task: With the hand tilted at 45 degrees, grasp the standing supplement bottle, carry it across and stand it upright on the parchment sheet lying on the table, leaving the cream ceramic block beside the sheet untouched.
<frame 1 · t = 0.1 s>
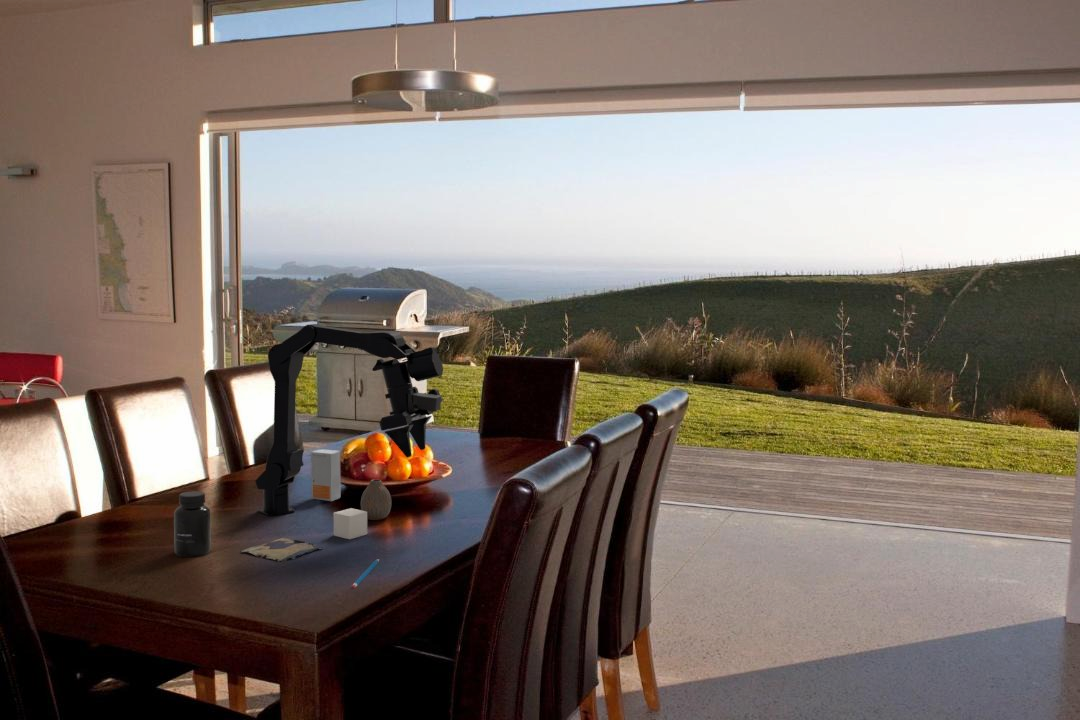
hand: (416, 453, 211), 15 cm above the table, tool pointing down, fingers open, 9 cm apart
cream ceramic block: (350, 535, 201), on the table
supplement bottle: (193, 553, 187), on the table
parchment: (283, 552, 189), on the table
skincare box: (326, 499, 233), on the table
vase: (376, 518, 215), on the table
pencil: (366, 575, 175), on the table
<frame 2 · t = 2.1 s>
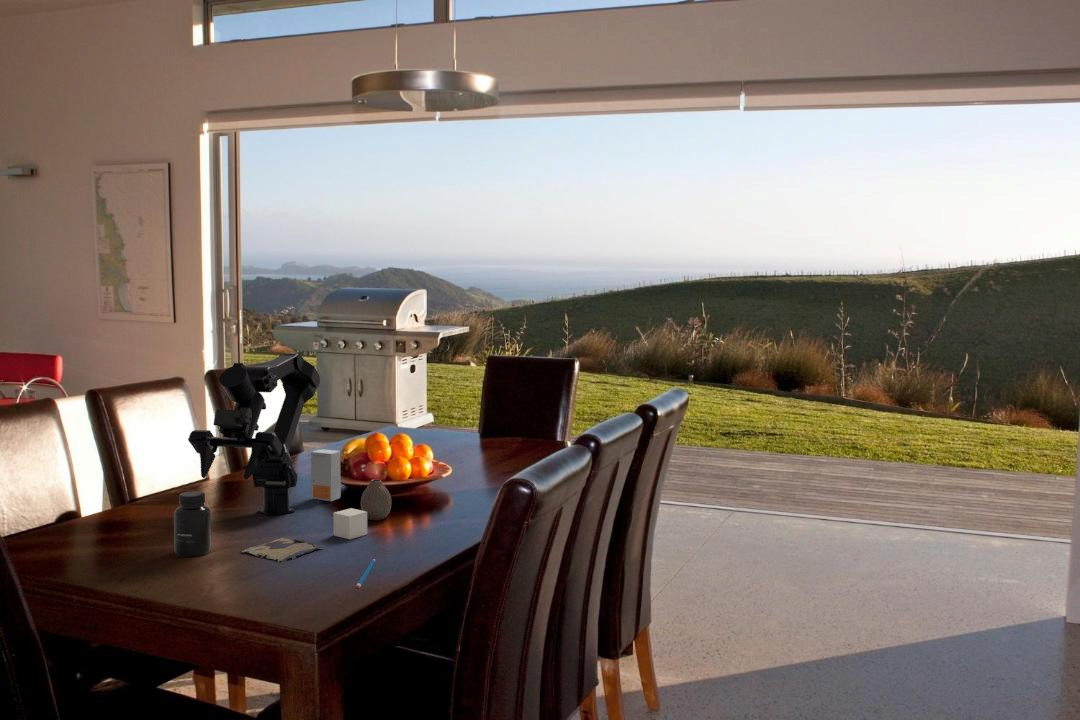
hand: (223, 477, 193), 14 cm above the table, tool tilted 45°, fingers open, 9 cm apart
nothing on the table moved.
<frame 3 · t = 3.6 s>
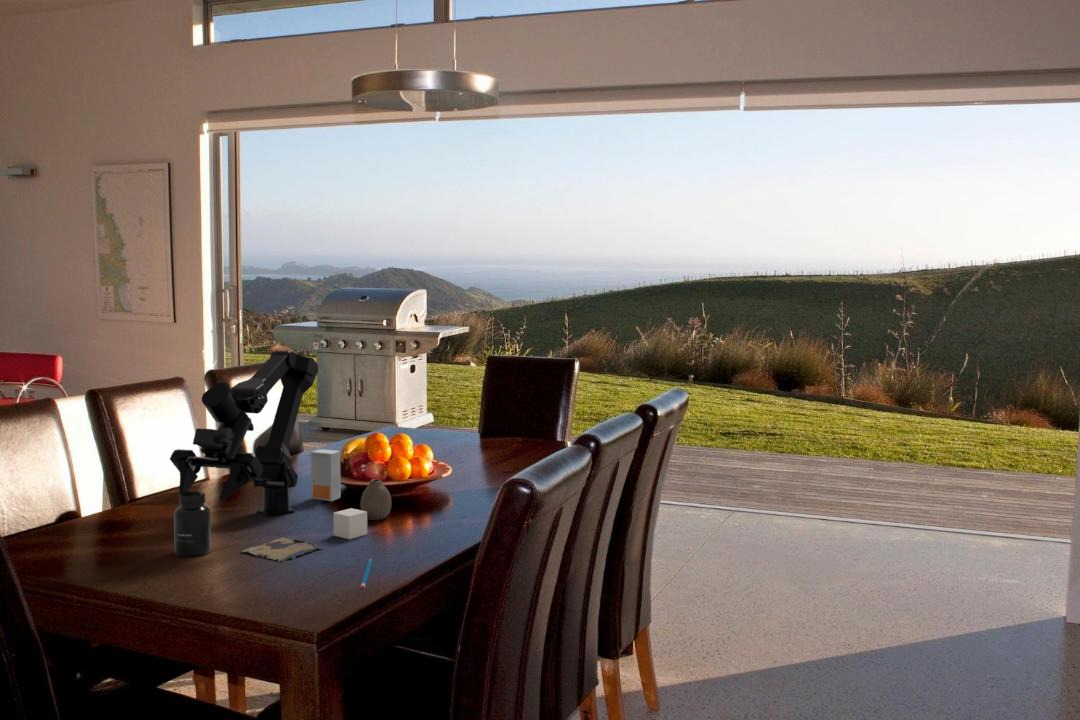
hand: (201, 498, 189), 10 cm above the table, tool tilted 45°, fingers open, 9 cm apart
nothing on the table moved.
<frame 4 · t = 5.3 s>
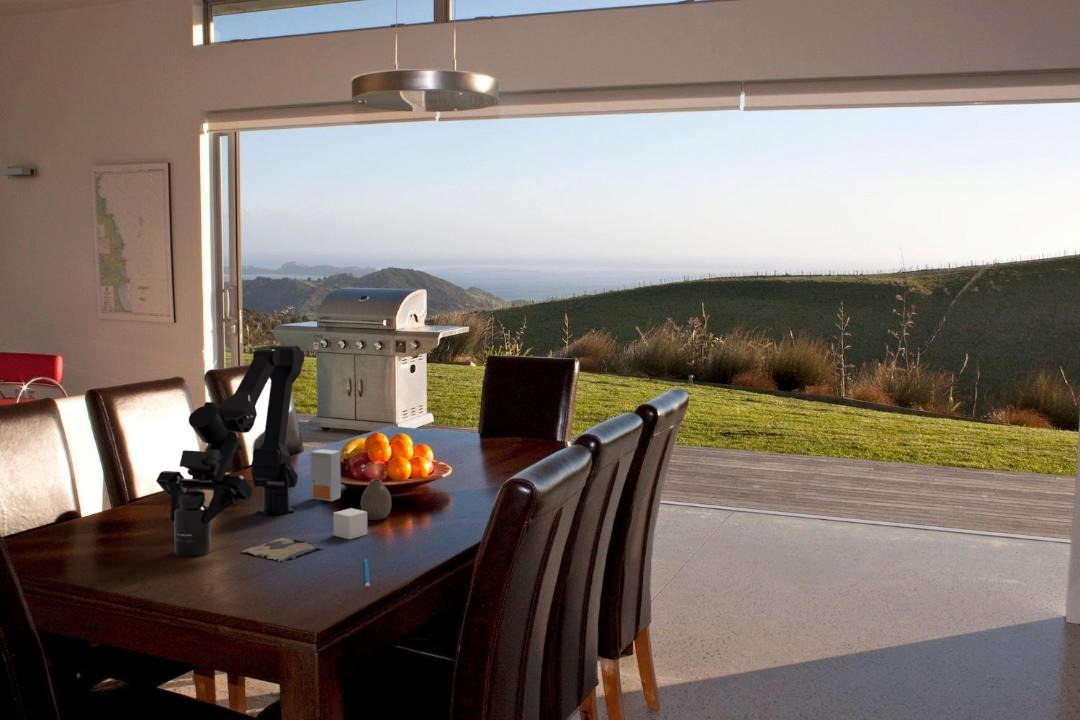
hand: (188, 521, 185), 7 cm above the table, tool tilted 45°, fingers closed on supplement bottle, 7 cm apart
supplement bottle: (193, 553, 187), on the table, touching gripper
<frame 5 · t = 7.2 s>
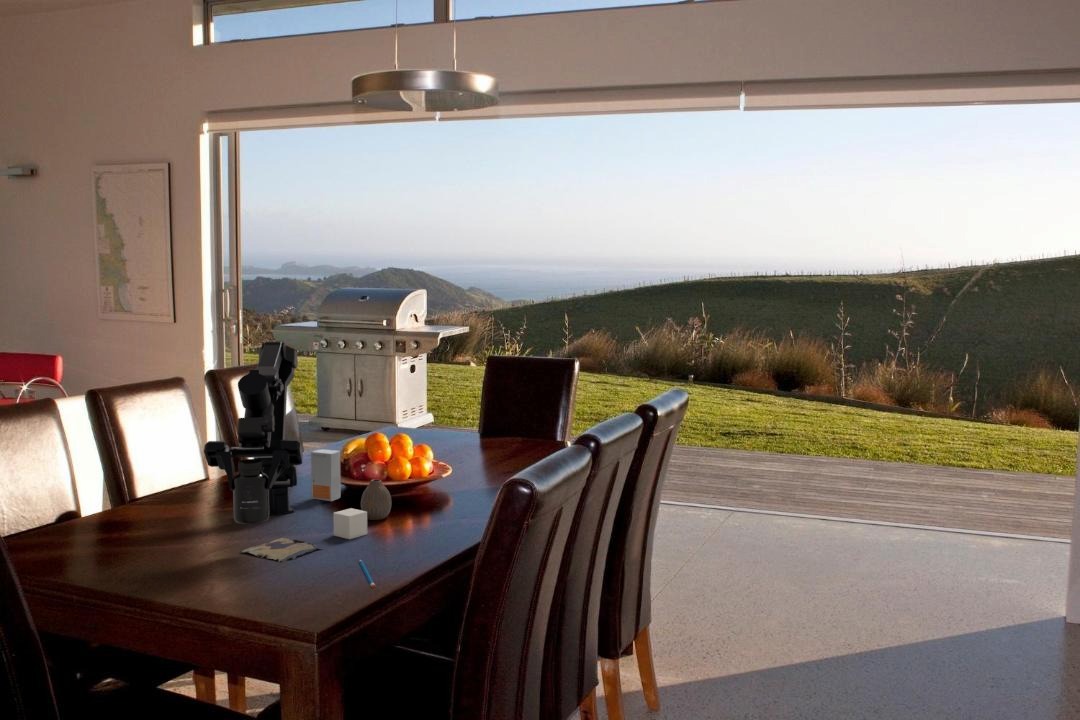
hand: (250, 488, 185), 13 cm above the table, tool tilted 45°, fingers closed on supplement bottle, 7 cm apart
supplement bottle: (252, 521, 187), point 6 cm above the table, touching gripper
when the fingers open (9 cm above the table, at t = 9.2 s): supplement bottle drops 2 cm, on the table.
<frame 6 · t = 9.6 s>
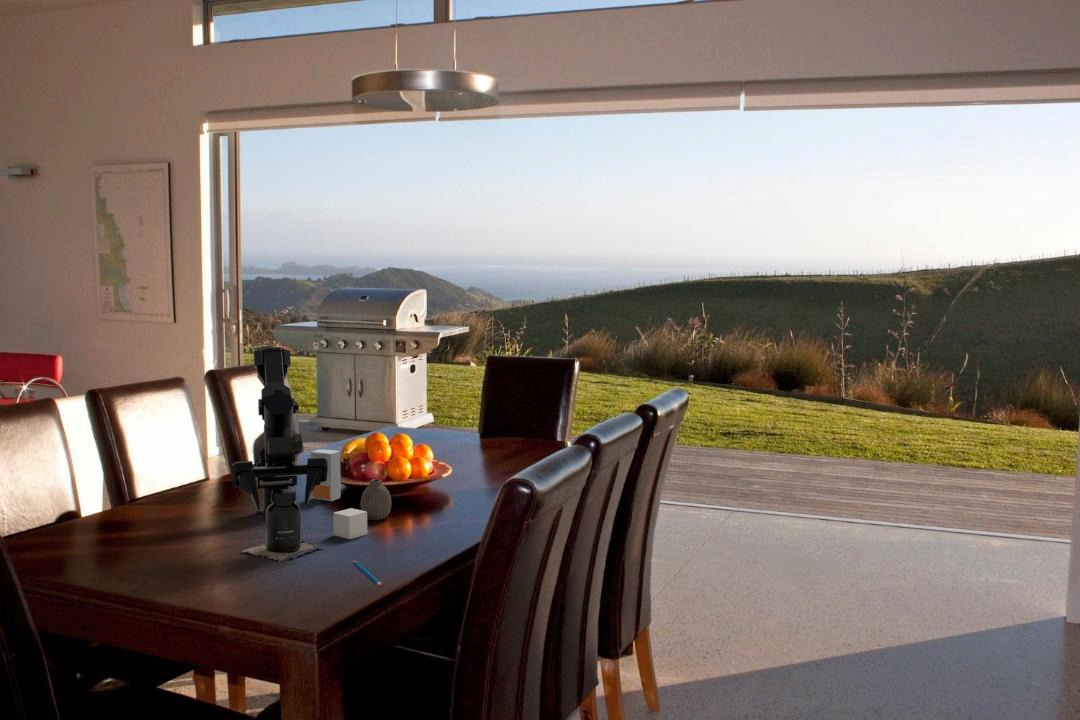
hand: (282, 507, 187), 9 cm above the table, tool tilted 45°, fingers open, 9 cm apart
supplement bottle: (284, 550, 190), on the table
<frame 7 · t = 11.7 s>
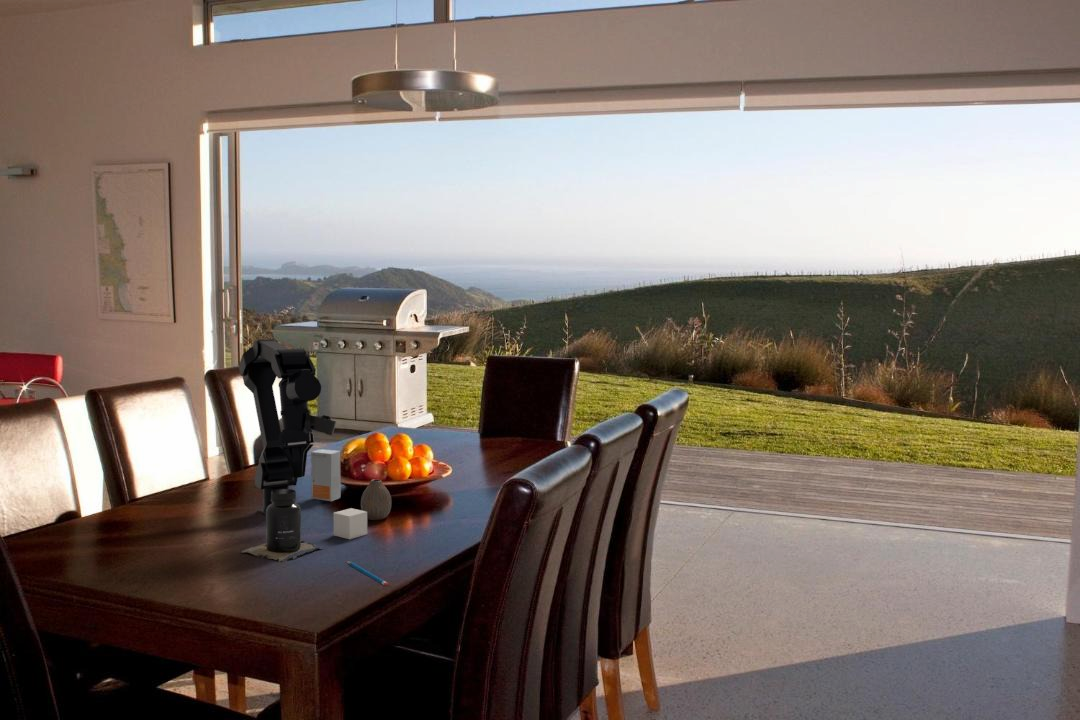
hand: (300, 477, 203), 12 cm above the table, tool pointing down, fingers open, 9 cm apart
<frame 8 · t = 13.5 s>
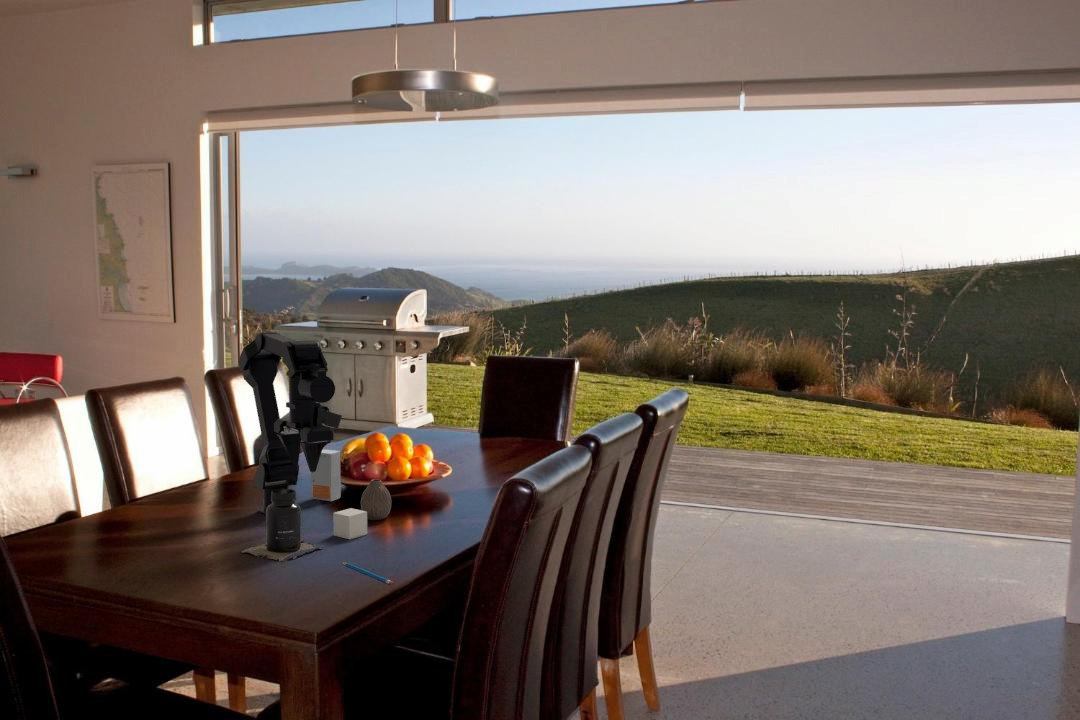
hand: (304, 468, 206), 13 cm above the table, tool pointing down, fingers open, 9 cm apart
at the end: supplement bottle inside the target area on the parchment (0.4 cm from its centre), point 0.4 cm above the parchment's base; supplement bottle tilted 0°; cream ceramic block moved 0.1 cm from its start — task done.
